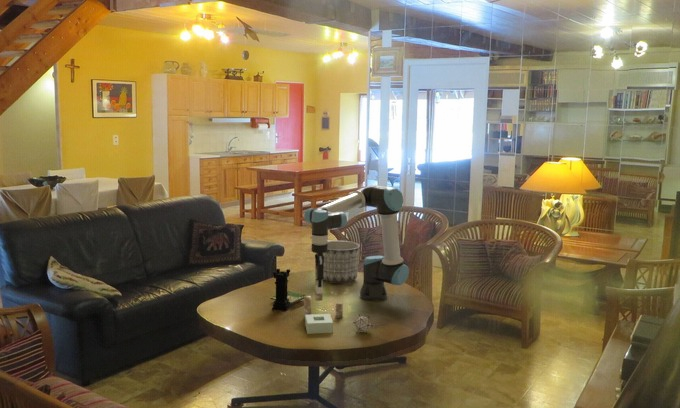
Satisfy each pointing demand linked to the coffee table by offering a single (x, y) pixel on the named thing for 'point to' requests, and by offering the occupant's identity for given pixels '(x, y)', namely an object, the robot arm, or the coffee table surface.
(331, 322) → the collar block
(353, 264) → the planter
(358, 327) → the spiky lattice ball
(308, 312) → the pin medium
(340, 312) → the pin short
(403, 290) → the coffee table surface
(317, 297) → the pin long
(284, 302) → the chess piece
